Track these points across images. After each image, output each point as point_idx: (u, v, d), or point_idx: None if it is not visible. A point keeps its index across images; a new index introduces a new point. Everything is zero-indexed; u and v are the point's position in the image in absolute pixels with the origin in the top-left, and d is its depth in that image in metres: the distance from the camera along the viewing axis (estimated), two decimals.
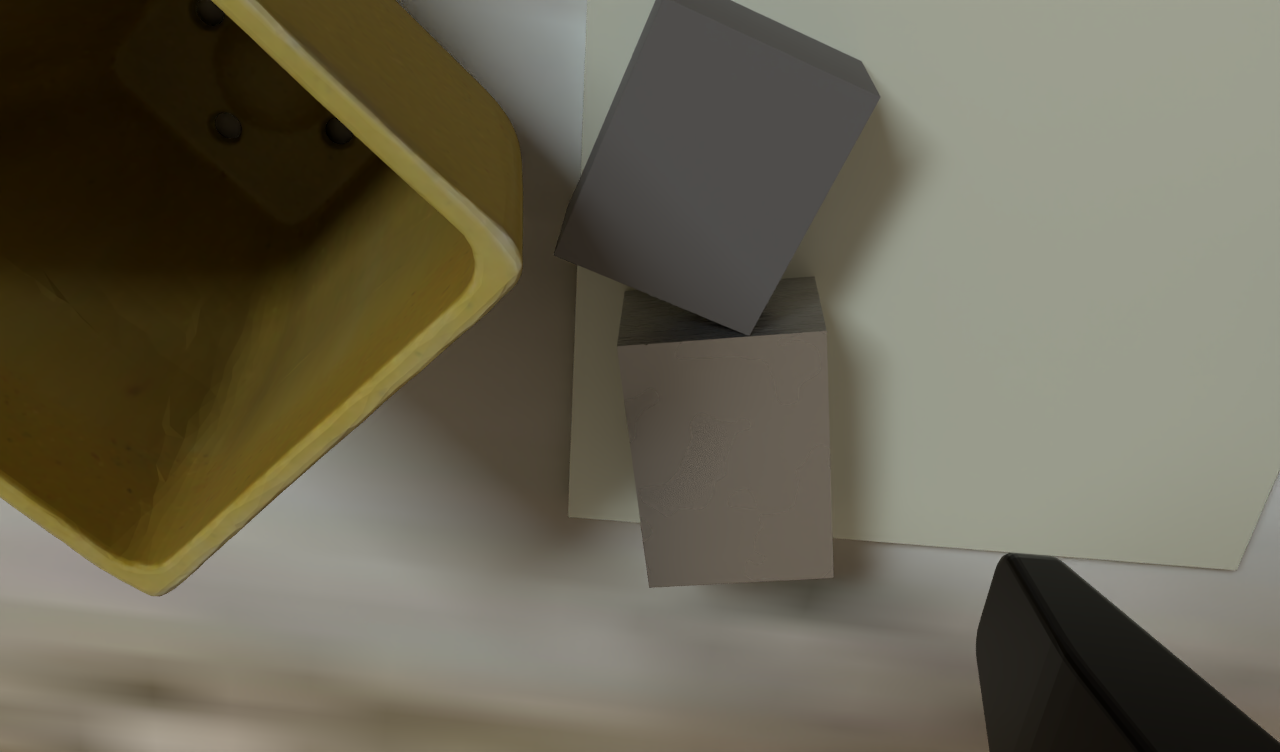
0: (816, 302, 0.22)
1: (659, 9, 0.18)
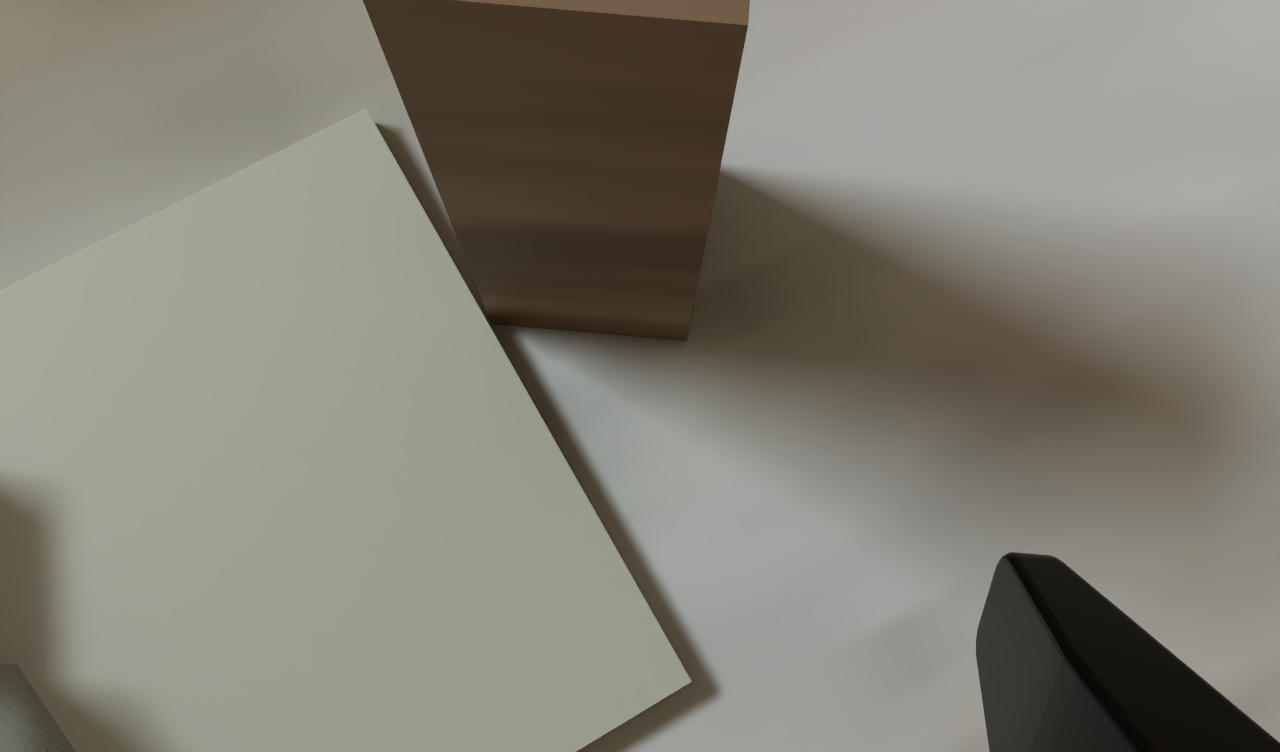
0: None
1: None
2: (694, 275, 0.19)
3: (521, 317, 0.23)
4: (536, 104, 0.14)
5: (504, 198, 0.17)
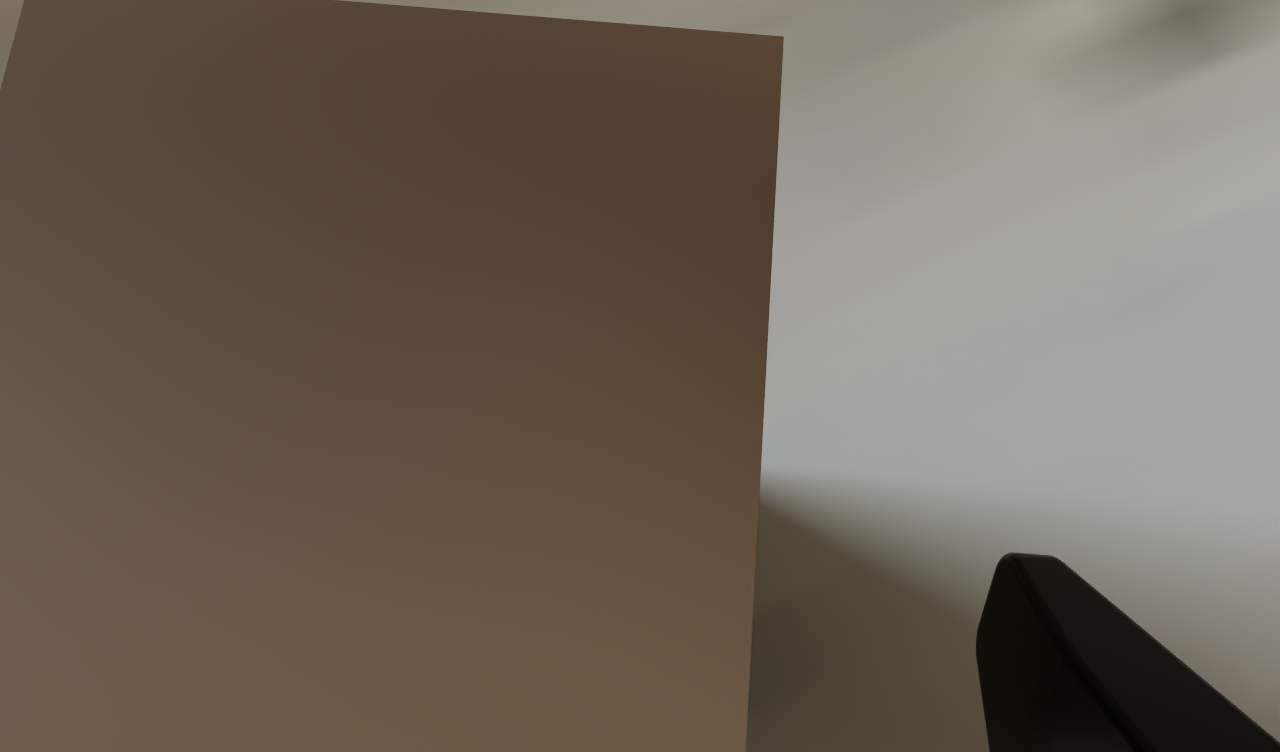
0: None
1: None
2: None
3: None
4: None
5: None
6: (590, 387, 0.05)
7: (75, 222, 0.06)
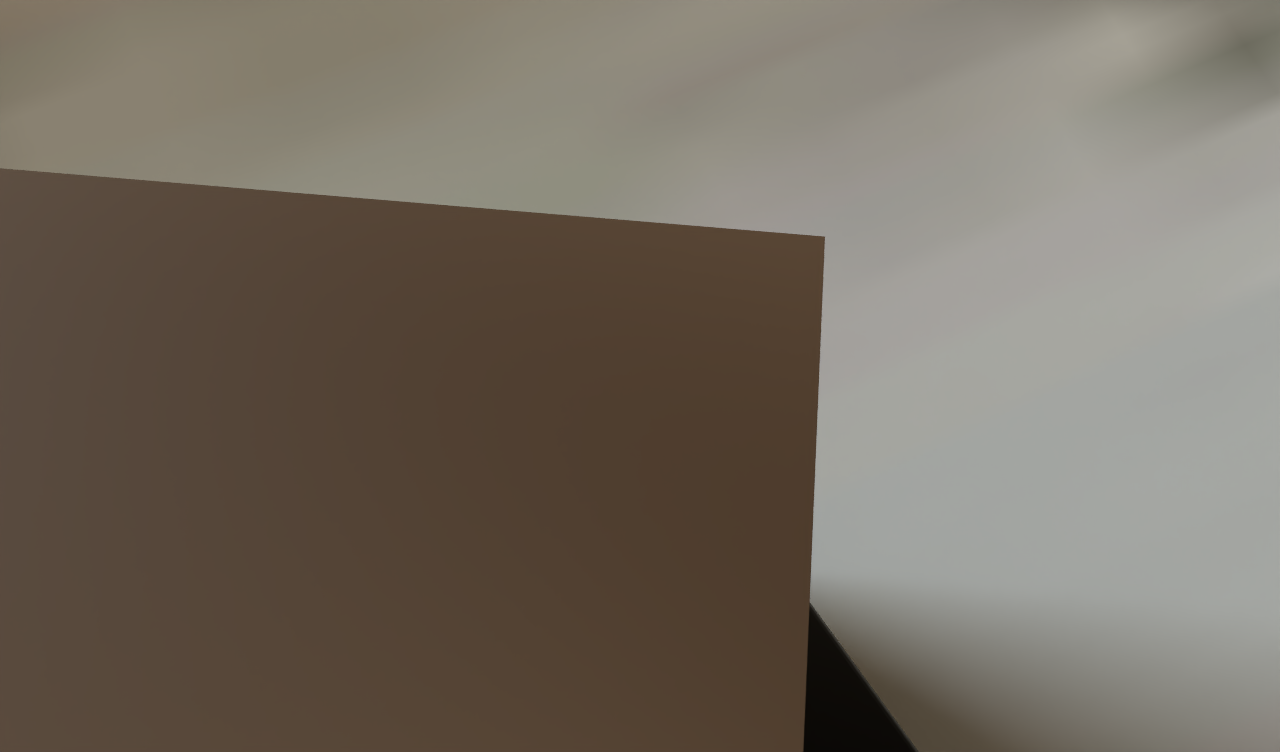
0: None
1: None
2: None
3: None
4: None
5: None
6: None
7: None
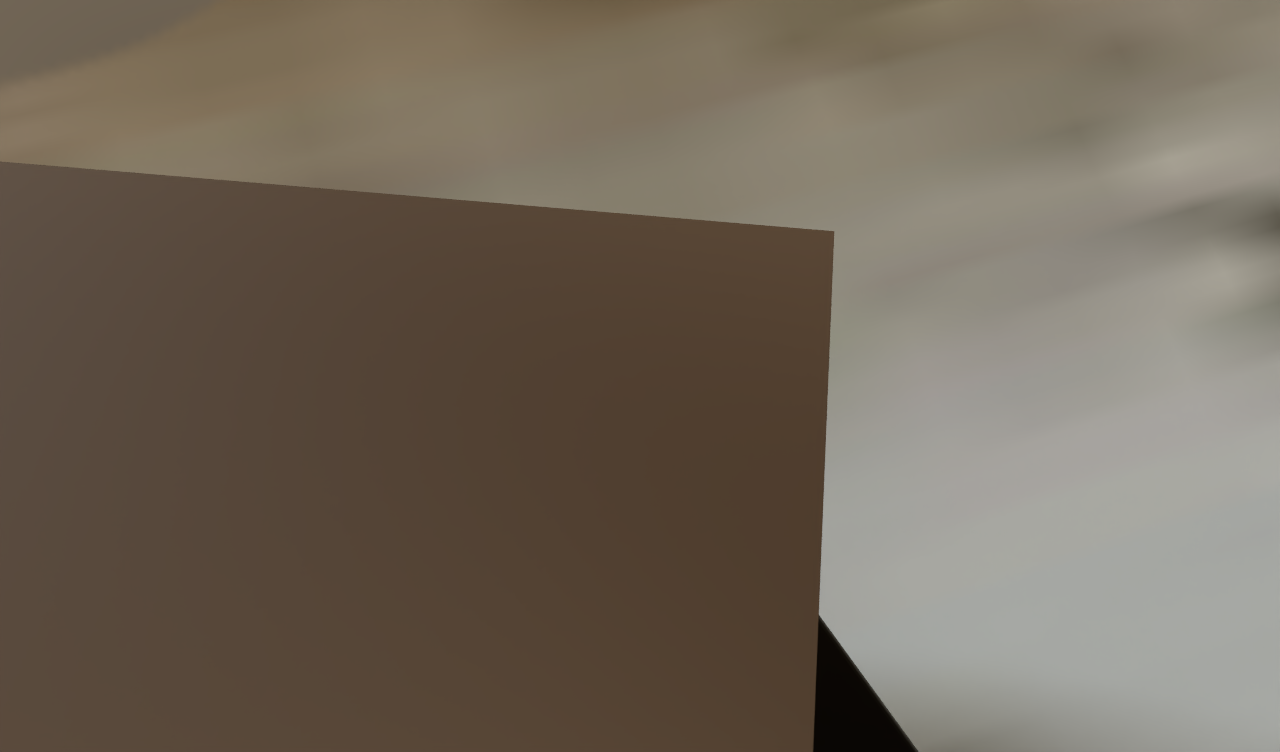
0: None
1: None
2: None
3: None
4: None
5: None
6: None
7: None
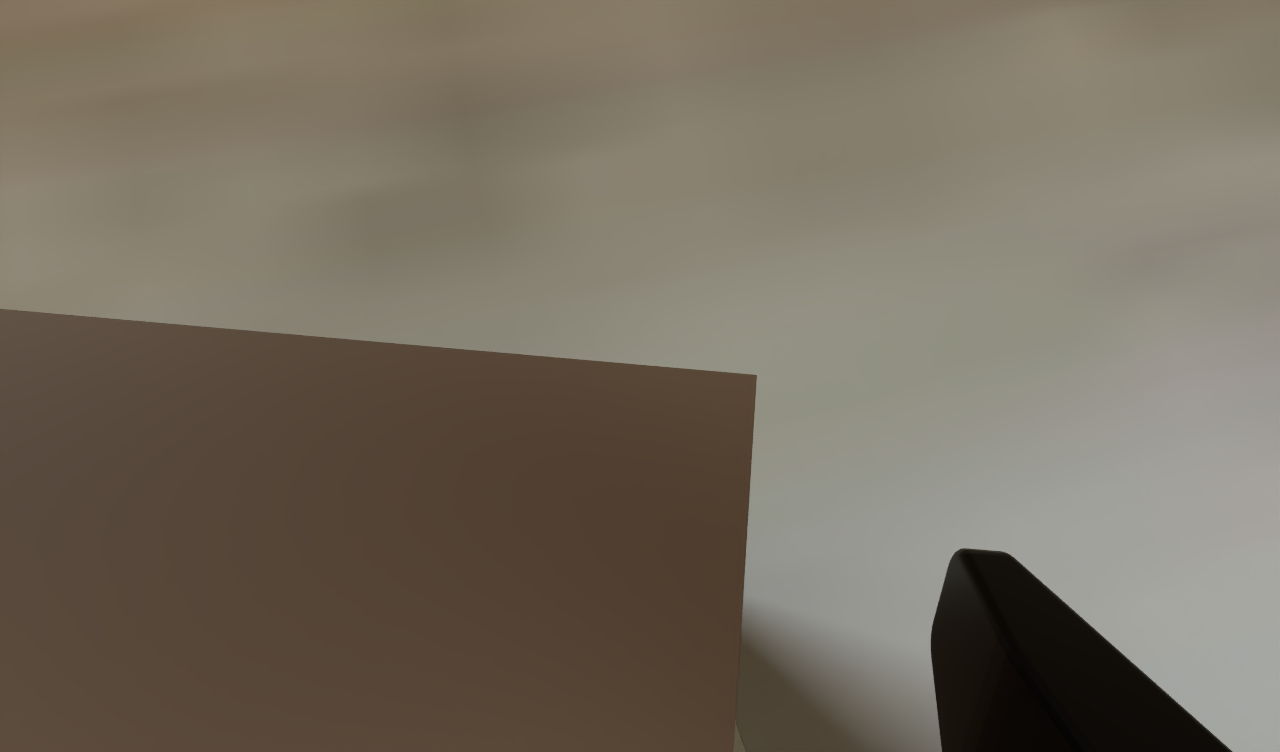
0: None
1: None
2: None
3: None
4: None
5: None
6: None
7: (9, 589, 0.05)
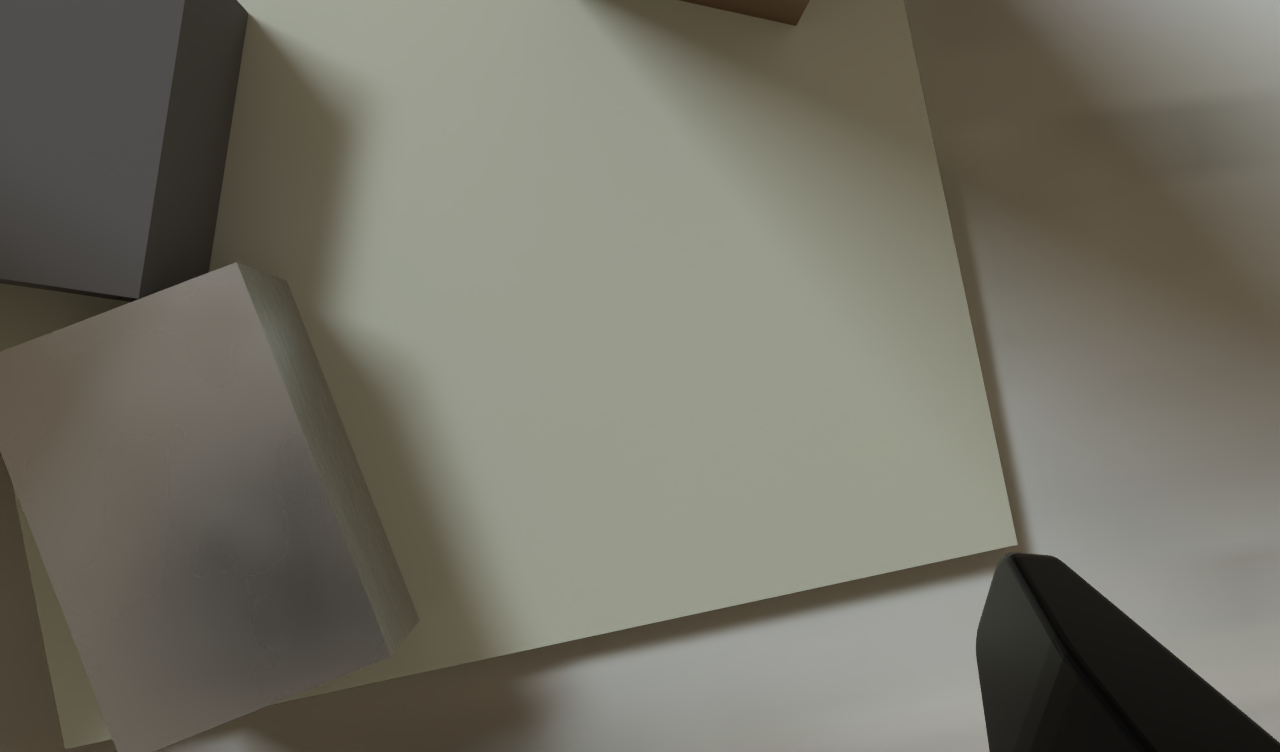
0: None
1: None
2: None
3: None
4: None
5: None
6: None
7: None
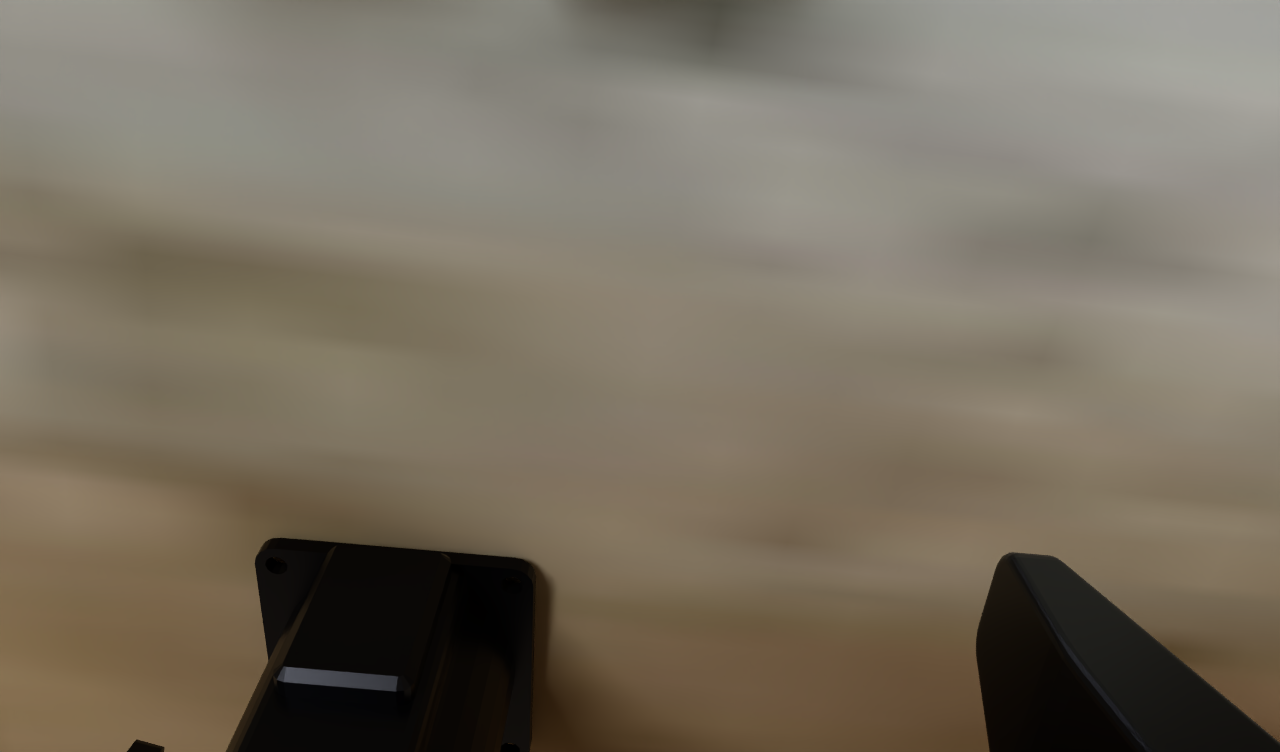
0: None
1: None
2: None
3: None
4: None
5: None
6: None
7: None
